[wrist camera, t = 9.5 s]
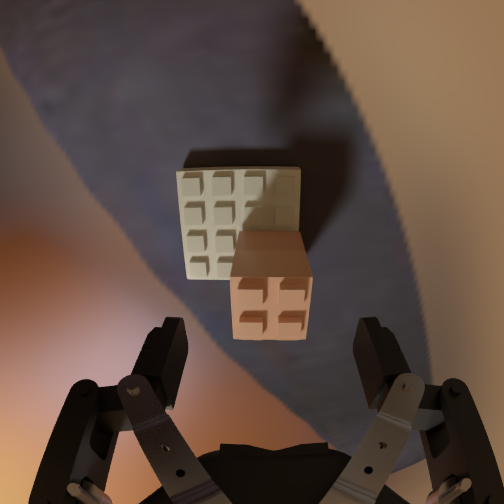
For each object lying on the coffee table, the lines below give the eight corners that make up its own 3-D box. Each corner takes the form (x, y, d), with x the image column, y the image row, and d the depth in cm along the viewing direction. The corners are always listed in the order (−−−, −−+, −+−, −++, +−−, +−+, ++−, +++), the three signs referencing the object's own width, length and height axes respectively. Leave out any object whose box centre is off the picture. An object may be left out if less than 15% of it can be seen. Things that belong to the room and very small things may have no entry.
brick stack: (239, 230, 20) (228, 282, 14) (299, 231, 20) (314, 282, 14) (240, 283, 22) (232, 344, 16) (296, 283, 22) (306, 345, 16)
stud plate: (181, 168, 20) (174, 172, 18) (298, 166, 20) (301, 170, 18) (190, 271, 23) (186, 281, 22) (294, 272, 23) (296, 283, 22)
